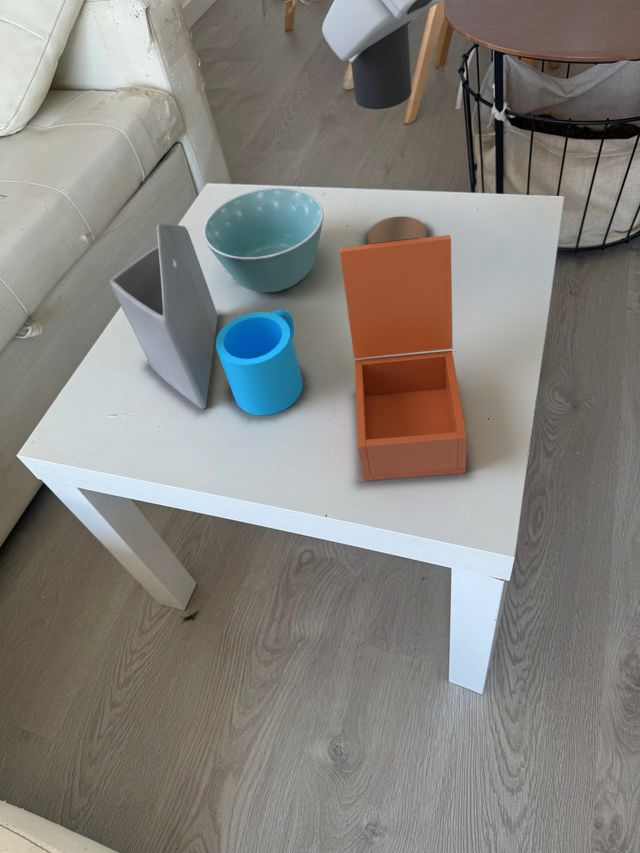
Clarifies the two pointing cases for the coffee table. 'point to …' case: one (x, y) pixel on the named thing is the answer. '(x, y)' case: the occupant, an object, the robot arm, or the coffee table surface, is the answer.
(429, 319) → the orange box lid
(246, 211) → the bowl
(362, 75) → the tapered grey cylinder
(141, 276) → the planter
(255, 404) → the mug
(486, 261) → the coffee table surface
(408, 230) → the trivet
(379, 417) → the orange open box
